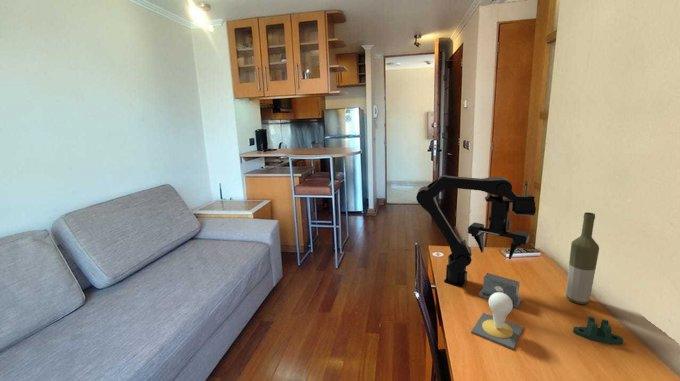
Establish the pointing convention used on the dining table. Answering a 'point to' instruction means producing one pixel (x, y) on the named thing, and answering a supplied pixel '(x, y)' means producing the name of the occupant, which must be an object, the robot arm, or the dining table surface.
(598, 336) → the mount
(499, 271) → the dining table surface
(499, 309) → the lightbulb
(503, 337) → the parts mat
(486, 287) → the lamp housing
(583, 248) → the bottle
